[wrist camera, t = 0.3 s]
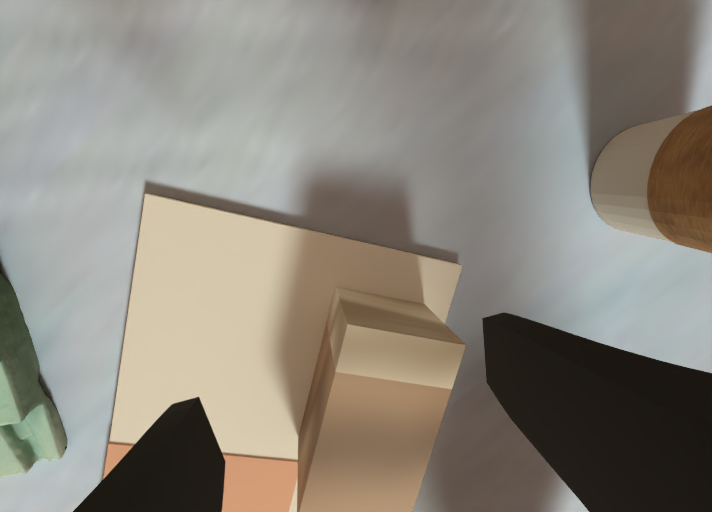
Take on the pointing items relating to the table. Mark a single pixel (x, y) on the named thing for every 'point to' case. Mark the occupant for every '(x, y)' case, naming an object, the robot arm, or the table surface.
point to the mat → (245, 332)
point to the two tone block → (374, 404)
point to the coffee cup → (659, 180)
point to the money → (23, 396)
